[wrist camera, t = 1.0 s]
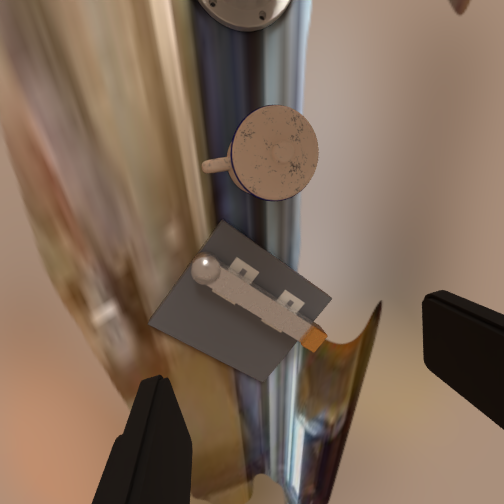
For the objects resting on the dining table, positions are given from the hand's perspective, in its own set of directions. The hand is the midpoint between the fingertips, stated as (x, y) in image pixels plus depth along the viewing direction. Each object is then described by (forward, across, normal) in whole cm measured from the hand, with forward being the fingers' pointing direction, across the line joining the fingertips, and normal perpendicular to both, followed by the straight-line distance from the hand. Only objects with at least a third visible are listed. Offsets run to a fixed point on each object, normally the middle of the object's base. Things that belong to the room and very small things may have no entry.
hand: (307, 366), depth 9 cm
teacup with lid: (+28, -4, -9) cm, 29 cm away
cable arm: (+26, -2, +10) cm, 27 cm away
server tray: (+28, +1, +11) cm, 30 cm away
